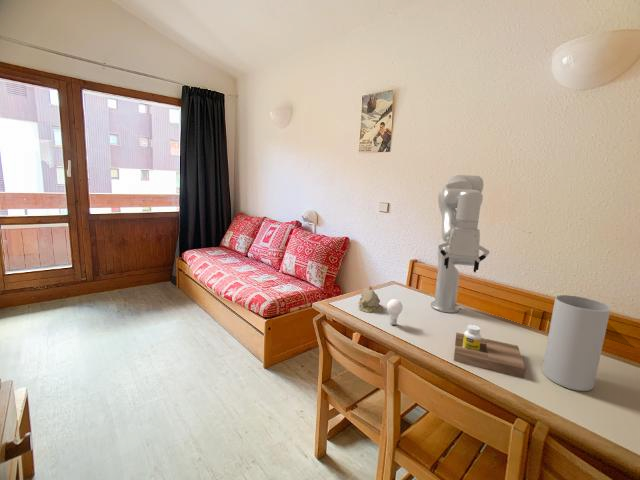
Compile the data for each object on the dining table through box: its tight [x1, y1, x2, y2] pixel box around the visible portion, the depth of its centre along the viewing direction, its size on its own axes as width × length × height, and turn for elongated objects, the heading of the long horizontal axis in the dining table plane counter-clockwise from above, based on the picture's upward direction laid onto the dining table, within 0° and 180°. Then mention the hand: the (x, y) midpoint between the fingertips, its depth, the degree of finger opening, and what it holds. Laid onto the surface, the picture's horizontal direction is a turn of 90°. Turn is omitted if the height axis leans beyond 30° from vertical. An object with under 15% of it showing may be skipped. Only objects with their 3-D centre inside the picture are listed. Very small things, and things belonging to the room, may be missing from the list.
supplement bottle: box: [462, 324, 482, 351], centre depth 107 cm, size 5×5×10 cm
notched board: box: [453, 332, 526, 379], centre depth 106 cm, size 16×20×3 cm
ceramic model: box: [358, 286, 383, 313], centre depth 146 cm, size 14×11×10 cm
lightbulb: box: [386, 298, 404, 326], centre depth 127 cm, size 6×6×11 cm
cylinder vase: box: [541, 294, 611, 392], centre depth 93 cm, size 12×12×25 cm
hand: (460, 269), depth 116 cm, fingers open, 9 cm apart
